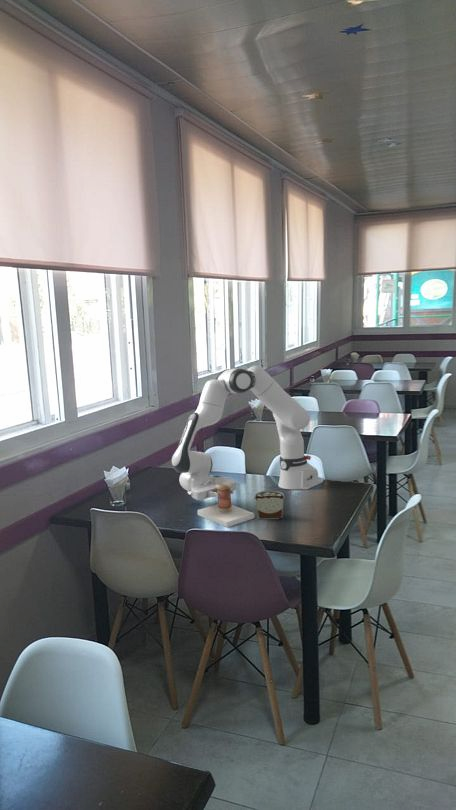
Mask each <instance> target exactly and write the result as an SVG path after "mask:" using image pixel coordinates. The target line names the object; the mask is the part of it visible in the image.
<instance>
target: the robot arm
mask: <svg viewBox="0 0 456 810" xmlns="http://www.w3.org/2000/svg"><path fill="white" fill-rule="evenodd" d="M248 391H251V392H252V394H253V395H254V396H255V397H256V398H257V399H258V400H259V401H260V402H261V403H262V404H263V405H264V406H265V407H266V408H267V409H268V410H269V411H271V412H272V416H273V418H274V421H275V424H276V428H277V433H278V437H279V439H278V440H279V452H280V456H279V465H280V468H279V469H280V471H279V478H278V479H279V480H278V487H279V488H280V489H285V490H309V489H312V488H313V487H316V486H318V485H320V484H323V483H324V482H325V481H324V479H323V478H322V477H319V471H318V469H317V468H316V467H314V466H313V465H312V464H310V463H309V462H308V460H309V461H310V460H311V459H312V456H311V455H305V443H304V442H305V441H304V438H303V436H302V435H303V434H302V432H301V430H303V429H305V428H307V427H308V426H309V424H310V421H311V416H310V413H309V412H308V411H307V410H306V409H305V408H304V407H303V406H302V405H301V404H300V403H299V402H298V401H297V400H295V398H293V397H292V396H291V395H290V394H289V393H287V392H286V391H285V390H284V389H283V388H282V386H280V384H279V383H278V382H277V381H276V380H275V379H274V378H273V377H272V376H271V375H270V374H269V373H268V372H267V371H266V370H264V369H263V368H262V367H260V366H258V365H252V366H250V367H249V368H247V369H245V368H236V367H235V368H230V369H229V368H228V369H224V370H222V371H221V372H220V373H219V375H218V376H217V377H216V378H215V379H209V380H207V381H206V382H205V384H204V386H203V389H202V392H201V395H200V397H199V402H198V405H197V408H196V410H195V411H194V412H192V413H191V414H190V415H189V416H188V419H187V420H186V423H185V426H184V428H183V431H182V433H181V436H180V439H179V442H178V443H177V447H176V449H175V451H174V452H173V454H172V456H171V461H170V462H171V466H172V468H173V469H174V471H176V472H177V473H178V474H179V473H180V475H179V479H178V481H179V484H180V486H181V487H182V488H183V489H184V490H186V491H187V492H186V493H187V494H188V495H191V498H193V499H194V500H196V501H203V500H206V499H210V498H216V499H218V497H220V493H218V492H217V488H216V485H217V484H219V483H230V484H231V488H230V489H231V495H232V494H234V492H235V491H237V488H238V487H237V486H238V485H237V481H236V480H233V479H231V478H228V477H224V475H211V473H212V470H213V459H212V457H211V456H210V454H209V453H208V452H202V451H195V450H191V448H192V444H193V442H194V439H195V437H196V434H197V432H199V430H200V429H202V428H205V427H209V426H213V425H215V424H216V423H218V422H220V420H221V419H222V416H223V413H224V408H225V403H226V400H227V397H228V396H229V395H230V394H243V393H246V392H248ZM323 481H324V482H323Z"/></svg>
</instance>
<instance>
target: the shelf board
mask: <svg viewBox="0 0 456 810" xmlns="http://www.w3.org/2000/svg"><path fill="white" fill-rule="evenodd" d="M231 505H232V510H229V511H219V510H217V506H218V503H216V504H214V505H211V506H207V507H204V508H199V509H197V515H198V516H200V517H202V518H204V519H206V520H209V521H212V522H214V523H216V524H218V525H221V526H223V527H225V528H230V527H232V526H235V525H238V524H241V523H244V522H247V521H250V520H252V519H255V512H252V511H249V510H247V509H244V508H241V507H239V506H236V505H234V504H231Z"/></svg>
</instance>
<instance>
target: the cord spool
mask: <svg viewBox="0 0 456 810" xmlns="http://www.w3.org/2000/svg"><path fill="white" fill-rule="evenodd" d="M216 488H217V492H218V493H220V497H218V498H217V504H218V506H217V510H219V511H229V510H232V505H233V504H232V494H231V489H230V488H231V484H230V483H219V484H217V485H216Z"/></svg>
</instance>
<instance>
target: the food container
mask: <svg viewBox="0 0 456 810" xmlns="http://www.w3.org/2000/svg"><path fill="white" fill-rule="evenodd" d="M253 500H254V501H255V503H256V509H257V510H256V511H257V517H258V519H259V520H270V519H271V520H280V519H279V518H282V519H283V514H284V500H286V497H285V494H284V493H283V492H281V491H279V490H262V491H259V492H257V493H255V494H254V499H253Z"/></svg>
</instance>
